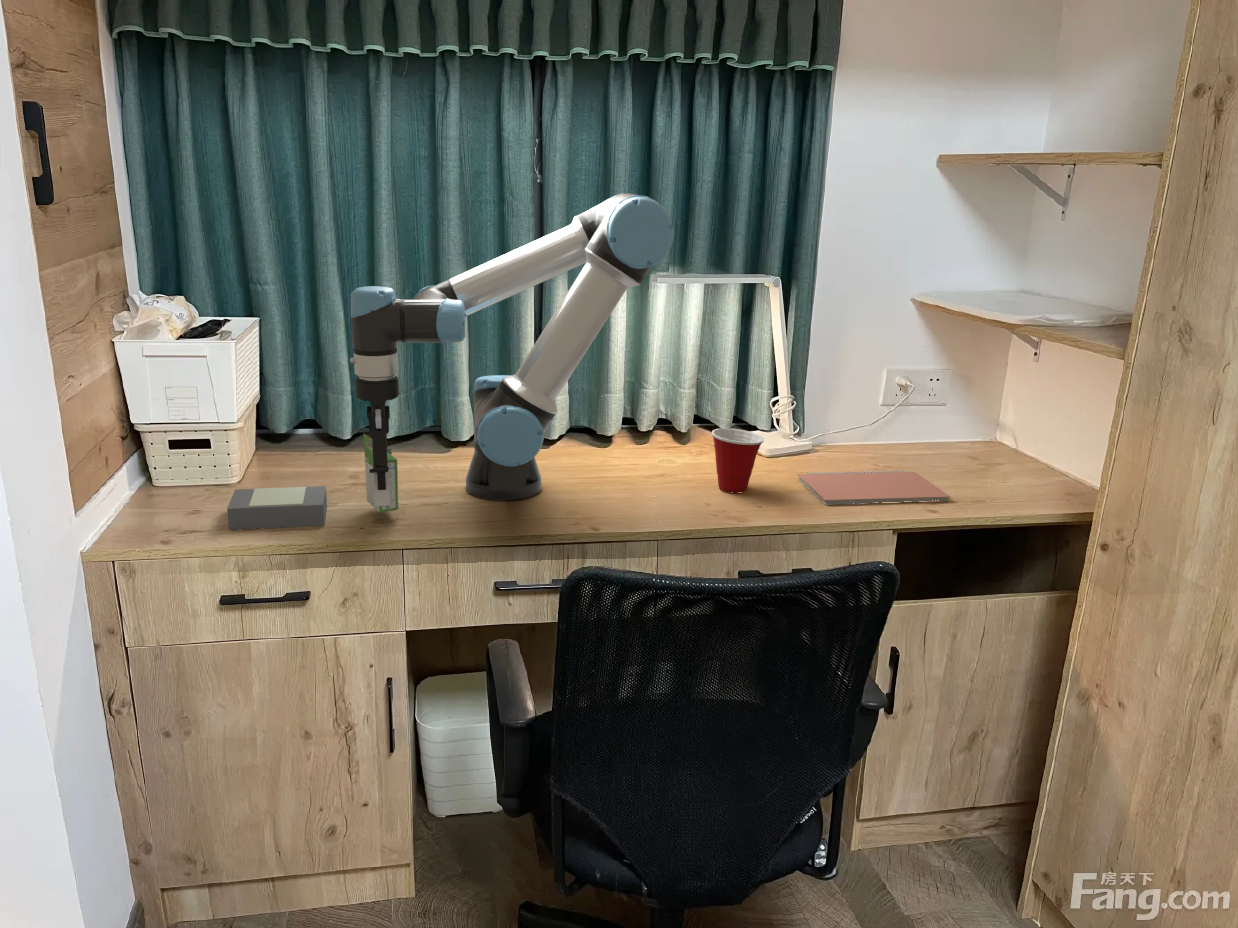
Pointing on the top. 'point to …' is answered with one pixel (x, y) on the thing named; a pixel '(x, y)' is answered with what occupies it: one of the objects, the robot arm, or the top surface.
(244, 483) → the top surface
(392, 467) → the ink box
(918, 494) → the notebook
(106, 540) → the top surface
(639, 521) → the top surface
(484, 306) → the robot arm
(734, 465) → the plastic cup
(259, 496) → the plinth
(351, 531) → the top surface
